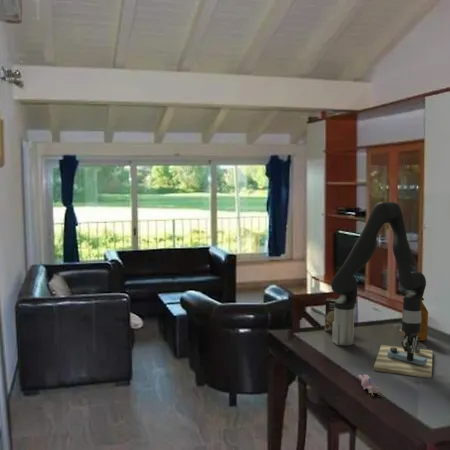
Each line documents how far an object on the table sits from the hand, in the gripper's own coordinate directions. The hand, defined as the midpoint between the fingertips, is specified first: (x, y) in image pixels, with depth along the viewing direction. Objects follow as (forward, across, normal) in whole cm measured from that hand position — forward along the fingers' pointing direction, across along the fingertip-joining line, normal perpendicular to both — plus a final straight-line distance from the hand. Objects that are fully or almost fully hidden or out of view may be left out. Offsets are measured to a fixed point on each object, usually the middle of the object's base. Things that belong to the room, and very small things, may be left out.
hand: (410, 360), depth 226 cm
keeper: (+1, -16, -4) cm, 16 cm away
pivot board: (+3, -5, -5) cm, 8 cm away
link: (+1, -3, -3) cm, 5 cm away
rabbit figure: (+4, +32, -1) cm, 32 cm away
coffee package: (+3, -40, -16) cm, 43 cm away
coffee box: (+2, -24, -52) cm, 57 cm away
